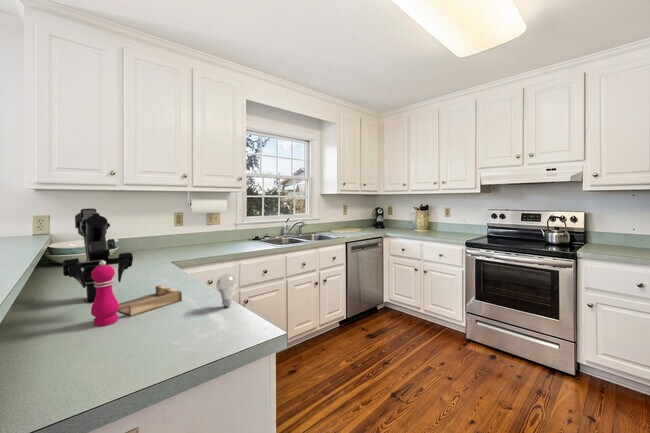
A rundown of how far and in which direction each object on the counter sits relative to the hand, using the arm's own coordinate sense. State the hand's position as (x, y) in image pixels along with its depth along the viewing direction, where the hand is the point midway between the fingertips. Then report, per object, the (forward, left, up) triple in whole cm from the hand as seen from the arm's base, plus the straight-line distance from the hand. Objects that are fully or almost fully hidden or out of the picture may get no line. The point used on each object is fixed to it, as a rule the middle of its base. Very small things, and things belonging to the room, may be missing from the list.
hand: (102, 284), depth 98 cm
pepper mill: (+3, -1, -12) cm, 12 cm away
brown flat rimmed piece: (-3, +15, -12) cm, 19 cm away
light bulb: (+25, +29, -12) cm, 40 cm away
